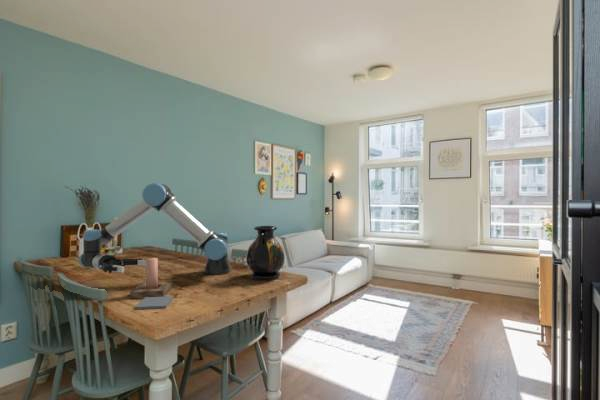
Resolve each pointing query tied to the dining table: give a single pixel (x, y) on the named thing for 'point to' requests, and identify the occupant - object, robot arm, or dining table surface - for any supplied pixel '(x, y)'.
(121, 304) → the dining table surface
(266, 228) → the amphora vase
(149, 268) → the terracotta peg
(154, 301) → the slate mat
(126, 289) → the dining table surface
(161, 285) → the walnut pocket block
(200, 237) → the robot arm
